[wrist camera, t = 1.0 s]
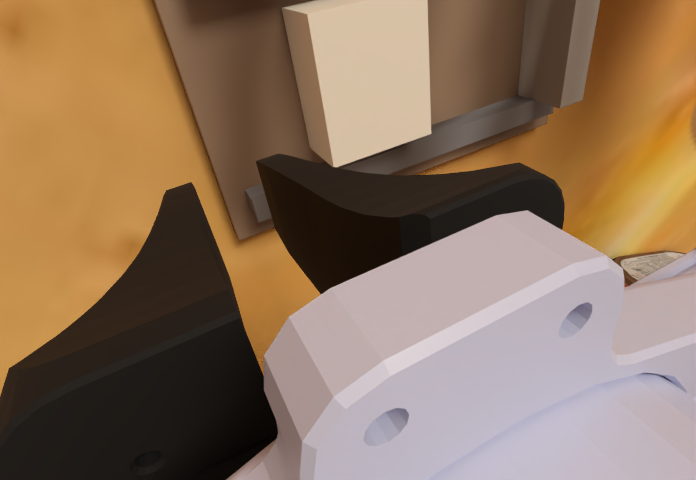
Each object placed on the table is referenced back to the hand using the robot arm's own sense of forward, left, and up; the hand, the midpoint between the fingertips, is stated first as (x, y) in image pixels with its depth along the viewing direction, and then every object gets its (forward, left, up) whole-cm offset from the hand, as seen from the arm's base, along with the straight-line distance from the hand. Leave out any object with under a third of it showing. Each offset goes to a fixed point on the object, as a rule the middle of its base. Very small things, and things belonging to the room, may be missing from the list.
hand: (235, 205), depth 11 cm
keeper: (-7, 0, -9) cm, 12 cm away
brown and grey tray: (-10, 0, -9) cm, 14 cm away
